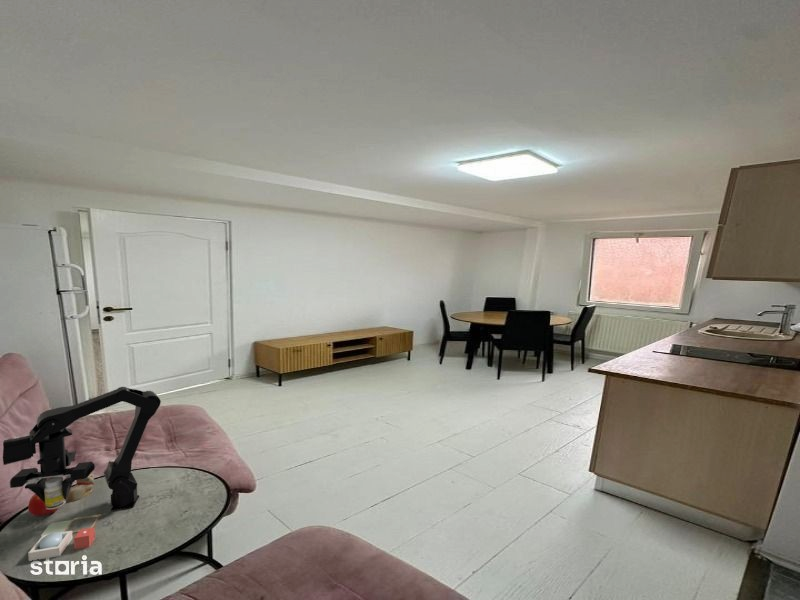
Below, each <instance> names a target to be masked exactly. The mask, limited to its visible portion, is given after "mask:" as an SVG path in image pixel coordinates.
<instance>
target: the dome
mask: <svg viewBox="0 0 800 600" xmlns="http://www.w3.org/2000/svg"><path fill="white" fill-rule="evenodd" d="M39 540H40V539H39ZM61 541H62V533H60V532H56V533H52V534H49V535H47V536H45V537H43V538H42V539H41V540H40V542H39V543H40V549H45V548H51V547H57V546H58V545H59V544H60V542H61Z"/></svg>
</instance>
